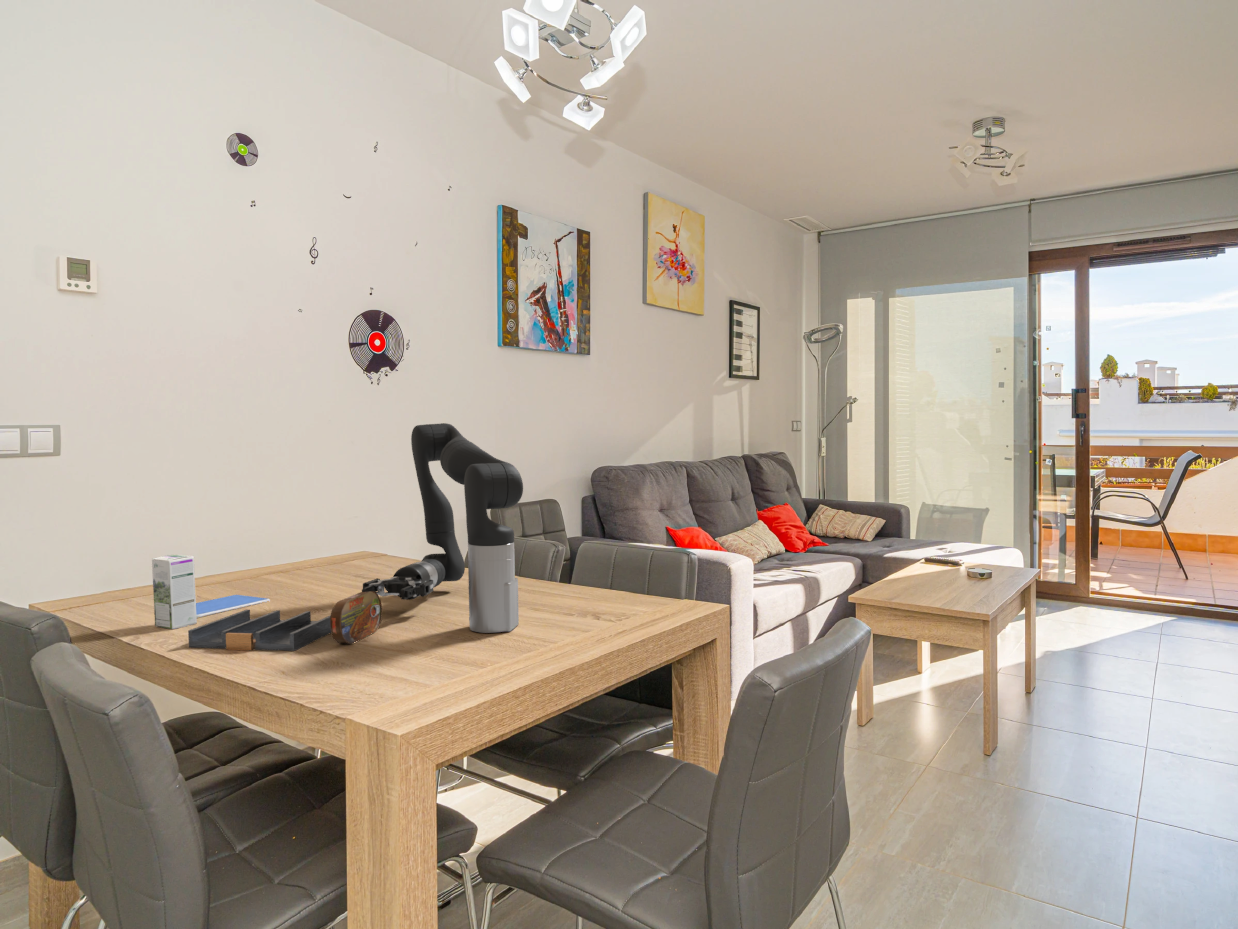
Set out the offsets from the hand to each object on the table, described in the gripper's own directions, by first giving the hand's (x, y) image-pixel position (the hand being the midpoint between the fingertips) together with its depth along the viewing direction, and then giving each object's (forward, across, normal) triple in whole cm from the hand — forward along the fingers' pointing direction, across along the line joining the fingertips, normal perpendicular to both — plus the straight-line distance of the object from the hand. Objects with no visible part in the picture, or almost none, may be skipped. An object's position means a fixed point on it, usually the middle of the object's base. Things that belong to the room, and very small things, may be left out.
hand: (383, 594), depth 157 cm
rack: (+13, -18, +6) cm, 23 cm away
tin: (+11, 0, +6) cm, 13 cm away
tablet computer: (-10, -46, +7) cm, 48 cm away
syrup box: (+6, -43, +6) cm, 44 cm away
